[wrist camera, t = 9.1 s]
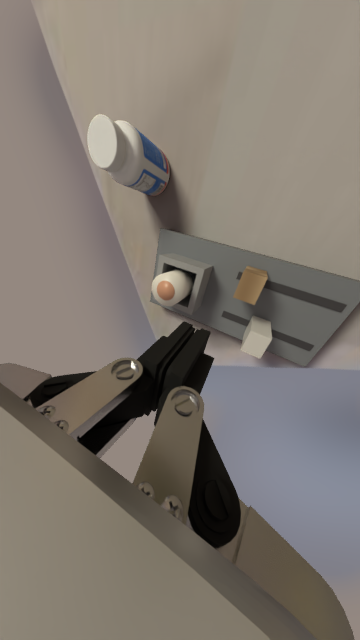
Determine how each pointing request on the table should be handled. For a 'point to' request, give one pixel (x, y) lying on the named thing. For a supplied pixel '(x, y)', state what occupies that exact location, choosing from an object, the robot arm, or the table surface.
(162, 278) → the button ivory
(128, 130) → the pill bottle
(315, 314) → the panel
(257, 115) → the table surface
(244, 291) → the lever oak
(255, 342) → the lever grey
